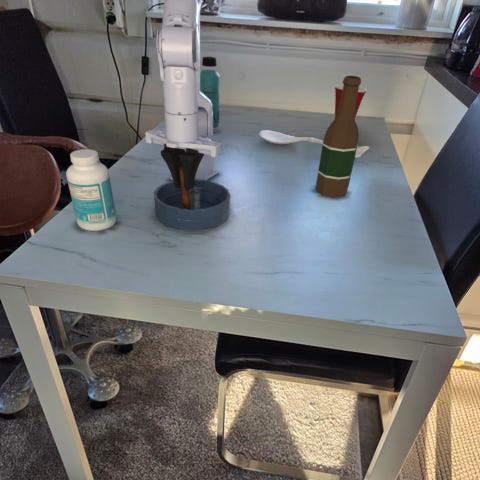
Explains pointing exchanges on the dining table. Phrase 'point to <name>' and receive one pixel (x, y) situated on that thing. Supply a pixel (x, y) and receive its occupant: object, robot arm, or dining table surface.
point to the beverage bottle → (211, 87)
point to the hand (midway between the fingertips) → (184, 187)
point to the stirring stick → (184, 191)
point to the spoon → (297, 140)
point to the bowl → (193, 205)
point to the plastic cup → (339, 91)
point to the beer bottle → (340, 144)
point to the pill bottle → (91, 191)
